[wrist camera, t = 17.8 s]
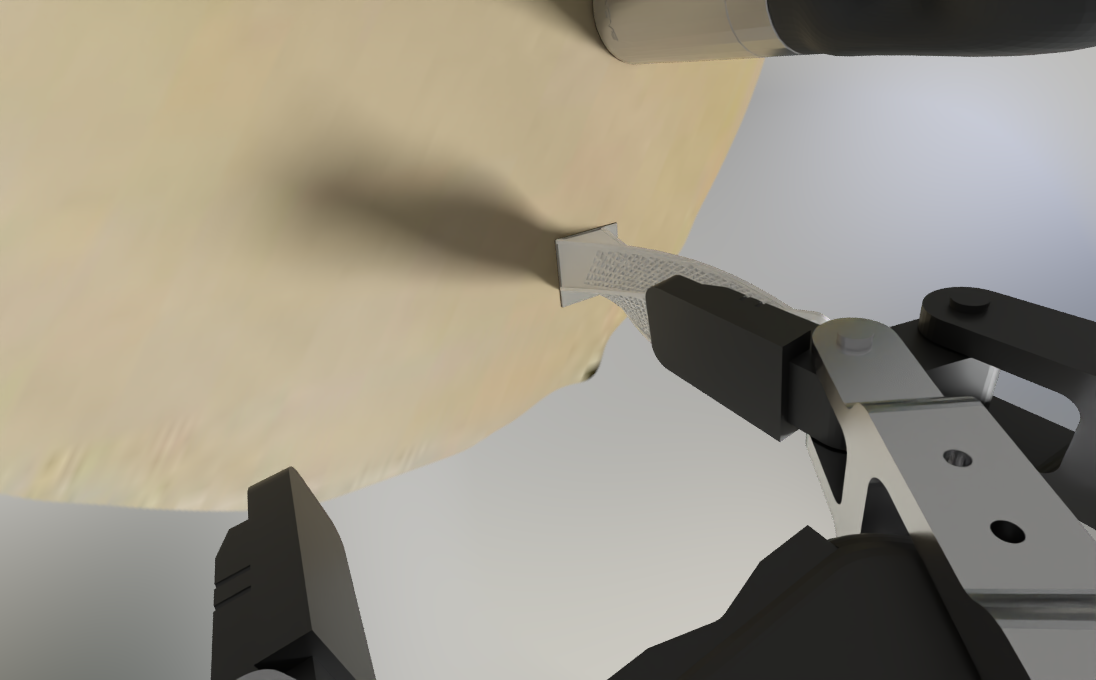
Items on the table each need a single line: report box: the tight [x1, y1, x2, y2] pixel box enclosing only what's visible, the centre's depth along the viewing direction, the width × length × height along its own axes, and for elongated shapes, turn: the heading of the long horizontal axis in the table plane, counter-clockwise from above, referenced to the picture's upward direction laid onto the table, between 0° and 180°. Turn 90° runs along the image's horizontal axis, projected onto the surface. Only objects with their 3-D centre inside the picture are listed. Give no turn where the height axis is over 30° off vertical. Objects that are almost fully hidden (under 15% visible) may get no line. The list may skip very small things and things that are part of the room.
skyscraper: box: [555, 223, 830, 344], centre depth 40 cm, size 8×8×28 cm
